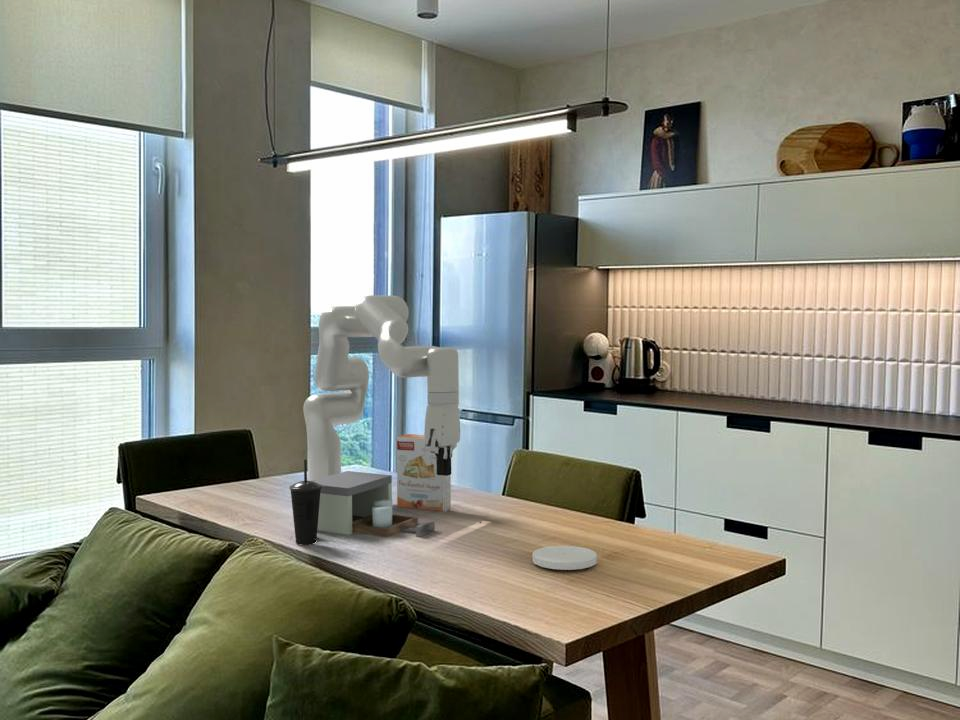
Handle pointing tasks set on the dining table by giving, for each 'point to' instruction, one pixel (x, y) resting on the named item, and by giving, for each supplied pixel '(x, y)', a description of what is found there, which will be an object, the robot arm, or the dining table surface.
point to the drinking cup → (305, 509)
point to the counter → (349, 498)
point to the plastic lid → (564, 557)
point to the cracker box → (420, 476)
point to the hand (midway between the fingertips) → (444, 474)
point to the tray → (393, 526)
